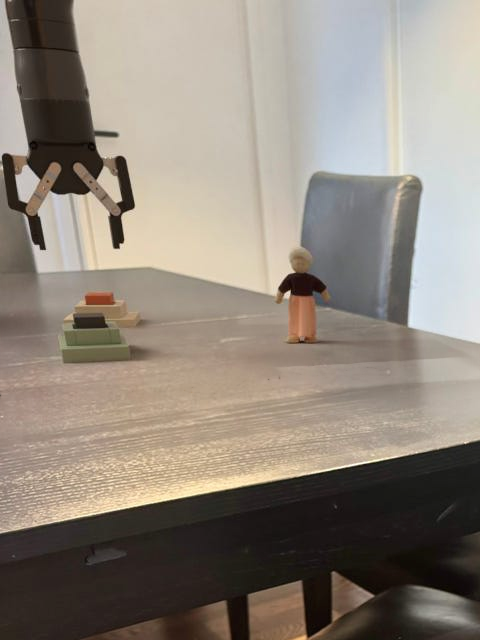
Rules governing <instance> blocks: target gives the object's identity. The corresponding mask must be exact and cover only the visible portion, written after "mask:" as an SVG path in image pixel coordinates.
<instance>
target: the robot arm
mask: <svg viewBox="0 0 480 640" xmlns="http://www.w3.org/2000/svg"><path fill="white" fill-rule="evenodd" d="M74 4H75V0H4V8H5V15H6V21H7V25H8V31H9V35H10V41H11V46H12V49H13V50H12V53H13V67H14V77H15V81H16V91H17V94H18V98H19V104H20V110H21V115H22V120H23V125H24V131H25V137H26V141H27V148H28V150H27V153H26V155H18V154H17V155H16V154H10V153H8V152H4V153H2V154H1V164H2V172H3V179H4V185H5V191H6V192H5V193H6V200H7V206H8V208H9V209H11V211H12V210H13V211H16V212H19V213H22V214H24V215H25V217H26V218H27V222H28V227H29V232H30V237H31V241H32V244H33V245H34V246H38V247H39V251H47V245H46V242H45V236H44V231H43V225H42V220H41V216H40V215H39V210H40V208H41V207H42V205H43V203H44V201H45V199H46V198H47V196H48V194H49V193H50V192H51V193H53V194H55V195H58V196H65V195H68V194H74V195H77V196H85V195H88V194H89V193H90V192H91V193H92V195H93V196H94V197H95V198H96V199H97V200H98V201H99V202H100V203H101V205H102V206H103V207H104V208H105V209H106V210H107V211H108V213H109V215H107V218H108V226H109V231H110V236H111V237H110V239H111V245H112V249H114V250H121V245H124V243H125V233H124V226H123V219H122V216H123V215H124V214H125V213H127V212H130V211H133V210H135V208H136V203H135V198H134V197H135V196H134V193H133V187H132V183H131V177H130V172H129V166H128V163H127V159H126V158H125V157H124V155H116V156H110V157H102V156H101V155H100V152H99V151H98V148H97V142H96V134H95V129H94V128H95V127H94V121H93V116H92V109H91V104H90V91H89V88H88V82H87V78H86V73H85V70H84V69H85V68H84V66H83V62H82V59H81V54H80V47H79V41H78V33H77V28H76V21H75V16H74V15H75V13H74ZM24 166H27V167H28V168H29V170H30V171H32V173H33V174H34V175H35V176H36V177H37V178H38V179H39V182H38V183H37V185H36V187H35V189H34V191H33V193H32V195H31V197H30V198H29V200H28V202H25V201H23V200H20V199H19V193H18V185H17V178H16V176H18V175H19V176H20V175H21V174H22V173H23V168H24ZM104 167H105V168H107V169H108V171H109V173H110V174H111V176H113V177H116V178H117V183H118V188H119V192H120V197H121V200H120V201H118V202H115V201H114V200H113V199H112V197H111V196H110V195H109V194H108V192H106V190H105V189H104V188H103V187H102V185H100V183H99V182H98V181H97V180H98V178H99V177H100V174H101V173H102V171H103V170H104Z"/></svg>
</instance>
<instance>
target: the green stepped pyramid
mask: <svg viewBox="0 0 480 640" xmlns="http://www.w3.org/2000/svg"><path fill="white" fill-rule="evenodd" d="M105 323H106V328H91V329H75V325H74V323H64V322H62V323H61V326H62V327H61V328H62V332H63V334H58V335H57V339H58V345H59V351H60V354H61V359H62V363H63V364H73V363H89V362H90V363H93V362H115V361H131V360H132V355H131V354H132V353H131V349H130V345H129V343H128V342H127V340H126V338H125V336H124V335H123V333H122V332H121V331H120V328H118V326H117V325H116V323H115V321H111V322H105Z"/></svg>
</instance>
